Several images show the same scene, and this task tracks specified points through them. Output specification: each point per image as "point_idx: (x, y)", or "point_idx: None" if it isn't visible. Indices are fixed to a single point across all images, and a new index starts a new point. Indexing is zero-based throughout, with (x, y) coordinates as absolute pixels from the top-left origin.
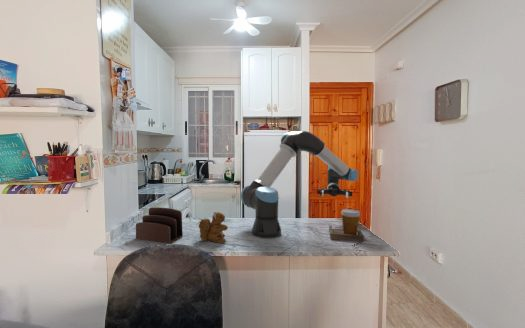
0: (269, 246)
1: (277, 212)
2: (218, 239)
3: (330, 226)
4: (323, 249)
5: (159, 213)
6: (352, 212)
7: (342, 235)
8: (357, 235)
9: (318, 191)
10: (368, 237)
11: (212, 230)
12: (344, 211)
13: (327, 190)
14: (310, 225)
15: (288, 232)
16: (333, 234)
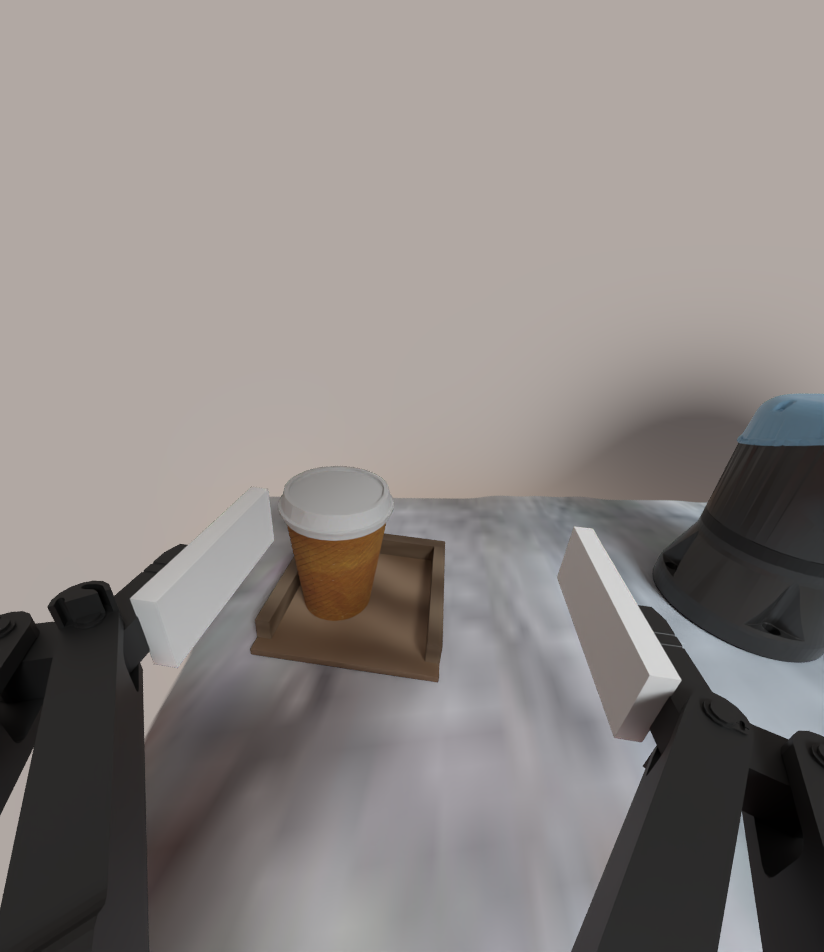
0: (620, 515)
1: (719, 503)
2: None
3: (436, 627)
4: (467, 503)
5: None
6: (335, 482)
7: (396, 537)
8: None
9: (769, 741)
10: (258, 578)
11: None
12: (375, 493)
13: (600, 928)
14: (589, 779)
15: None
16: (432, 541)
